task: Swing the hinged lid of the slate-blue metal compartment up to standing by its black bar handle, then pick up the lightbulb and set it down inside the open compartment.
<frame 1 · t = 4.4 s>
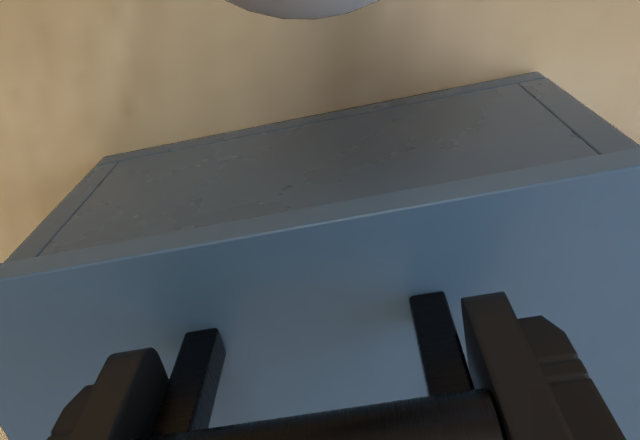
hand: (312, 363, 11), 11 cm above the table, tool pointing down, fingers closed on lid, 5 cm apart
compartment: (354, 308, 24), on the table
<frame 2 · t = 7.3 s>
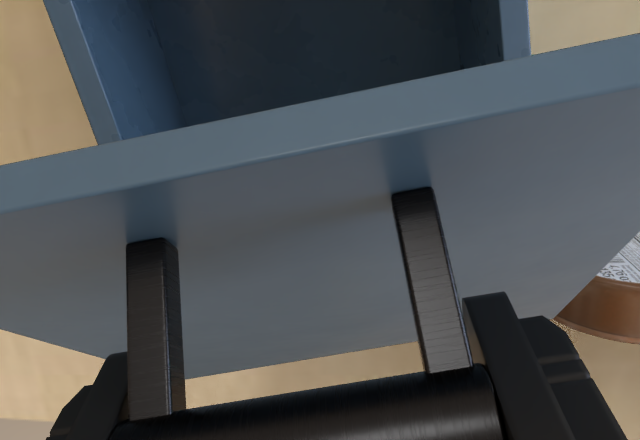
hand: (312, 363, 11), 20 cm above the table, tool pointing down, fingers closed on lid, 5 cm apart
compartment: (319, 89, 29), on the table
lid: (341, 376, 15), point 17 cm above the table, hinge at 43.6°, touching gripper
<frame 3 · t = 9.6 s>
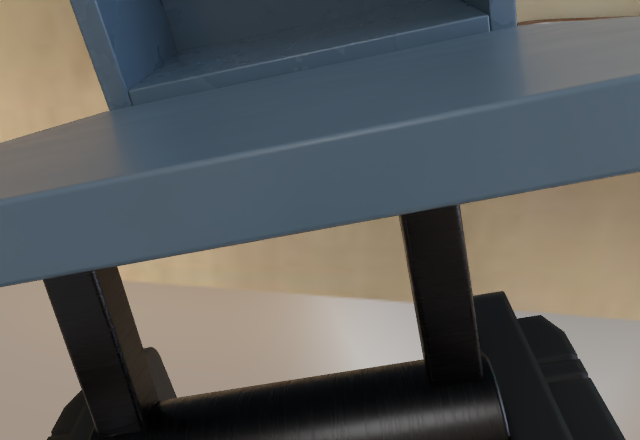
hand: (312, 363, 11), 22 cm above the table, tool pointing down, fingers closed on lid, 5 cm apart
lid: (304, 207, 14), point 18 cm above the table, hinge at 81.3°, touching gripper
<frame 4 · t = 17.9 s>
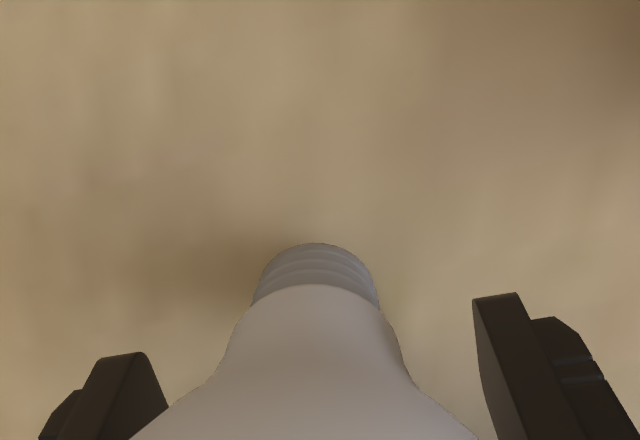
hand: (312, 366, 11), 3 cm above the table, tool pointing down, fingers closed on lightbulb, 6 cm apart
lightbulb: (316, 269, 14), on the table, touching gripper
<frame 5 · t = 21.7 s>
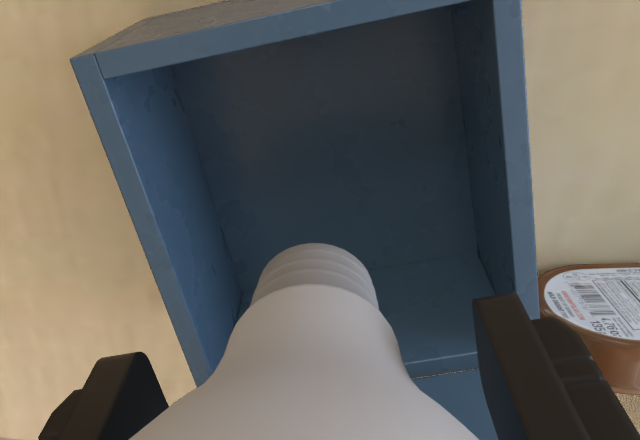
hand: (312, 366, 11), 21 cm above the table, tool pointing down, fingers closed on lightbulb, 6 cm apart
tin: (639, 275, 34), on the table
compartment: (332, 146, 31), on the table
lightbulb: (316, 269, 14), point 17 cm above the table, touching gripper
when the fingers open (4 cm above the table, at t = 25.8 s): lightbulb stays where it is, resting on compartment.
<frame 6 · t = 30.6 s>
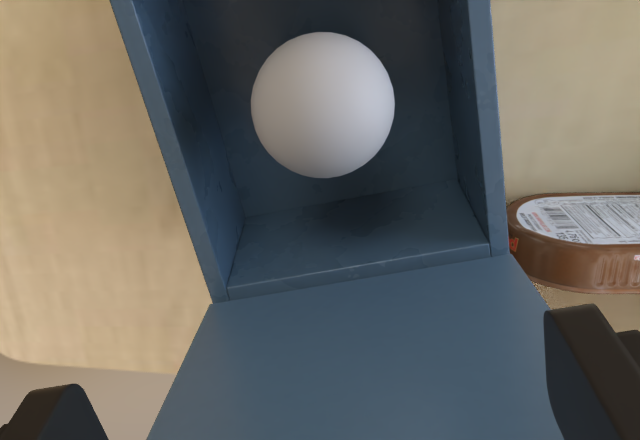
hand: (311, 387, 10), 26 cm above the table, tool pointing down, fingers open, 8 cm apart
tin: (605, 204, 38), on the table
compartment: (326, 81, 34), on the table
lightbulb: (323, 65, 33), point 1 cm above the table, touching compartment
lid: (374, 439, 22), point 18 cm above the table, hinge at 82.1°
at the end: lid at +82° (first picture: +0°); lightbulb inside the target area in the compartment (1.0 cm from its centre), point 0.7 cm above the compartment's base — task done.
